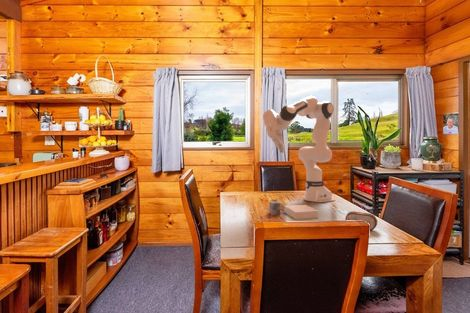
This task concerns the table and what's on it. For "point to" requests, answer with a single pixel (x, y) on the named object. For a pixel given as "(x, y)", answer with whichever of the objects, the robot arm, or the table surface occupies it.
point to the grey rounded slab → (363, 218)
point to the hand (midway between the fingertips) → (280, 149)
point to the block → (275, 208)
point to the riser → (301, 211)
